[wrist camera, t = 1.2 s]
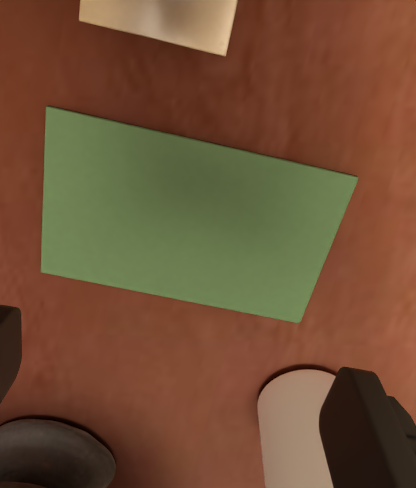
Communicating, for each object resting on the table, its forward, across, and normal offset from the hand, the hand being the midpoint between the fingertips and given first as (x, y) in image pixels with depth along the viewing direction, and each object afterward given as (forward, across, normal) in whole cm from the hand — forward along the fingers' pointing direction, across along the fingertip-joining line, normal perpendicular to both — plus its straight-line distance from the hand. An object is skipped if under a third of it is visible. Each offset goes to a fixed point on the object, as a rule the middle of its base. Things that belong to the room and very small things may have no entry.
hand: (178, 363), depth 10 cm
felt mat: (+18, 0, +4) cm, 18 cm away
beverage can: (+18, -12, +18) cm, 29 cm away
